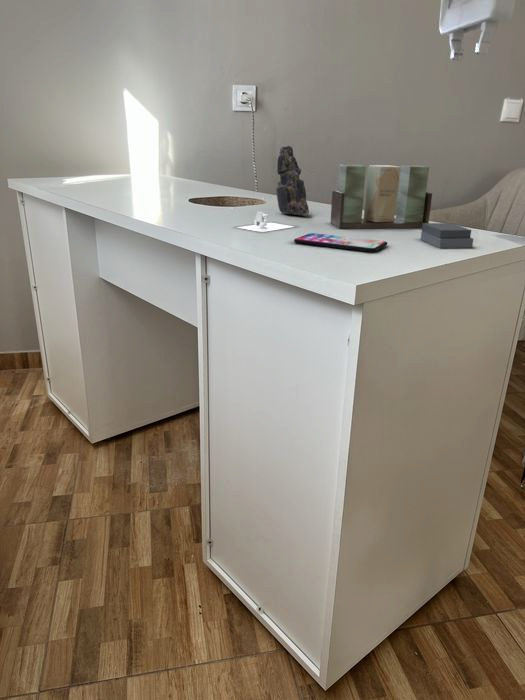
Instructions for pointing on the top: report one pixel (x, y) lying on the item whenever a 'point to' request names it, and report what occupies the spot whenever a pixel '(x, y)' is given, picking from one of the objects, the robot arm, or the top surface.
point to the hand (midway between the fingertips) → (468, 57)
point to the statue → (290, 185)
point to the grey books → (446, 235)
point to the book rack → (409, 204)
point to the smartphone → (341, 242)
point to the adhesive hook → (264, 224)
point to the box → (381, 193)
